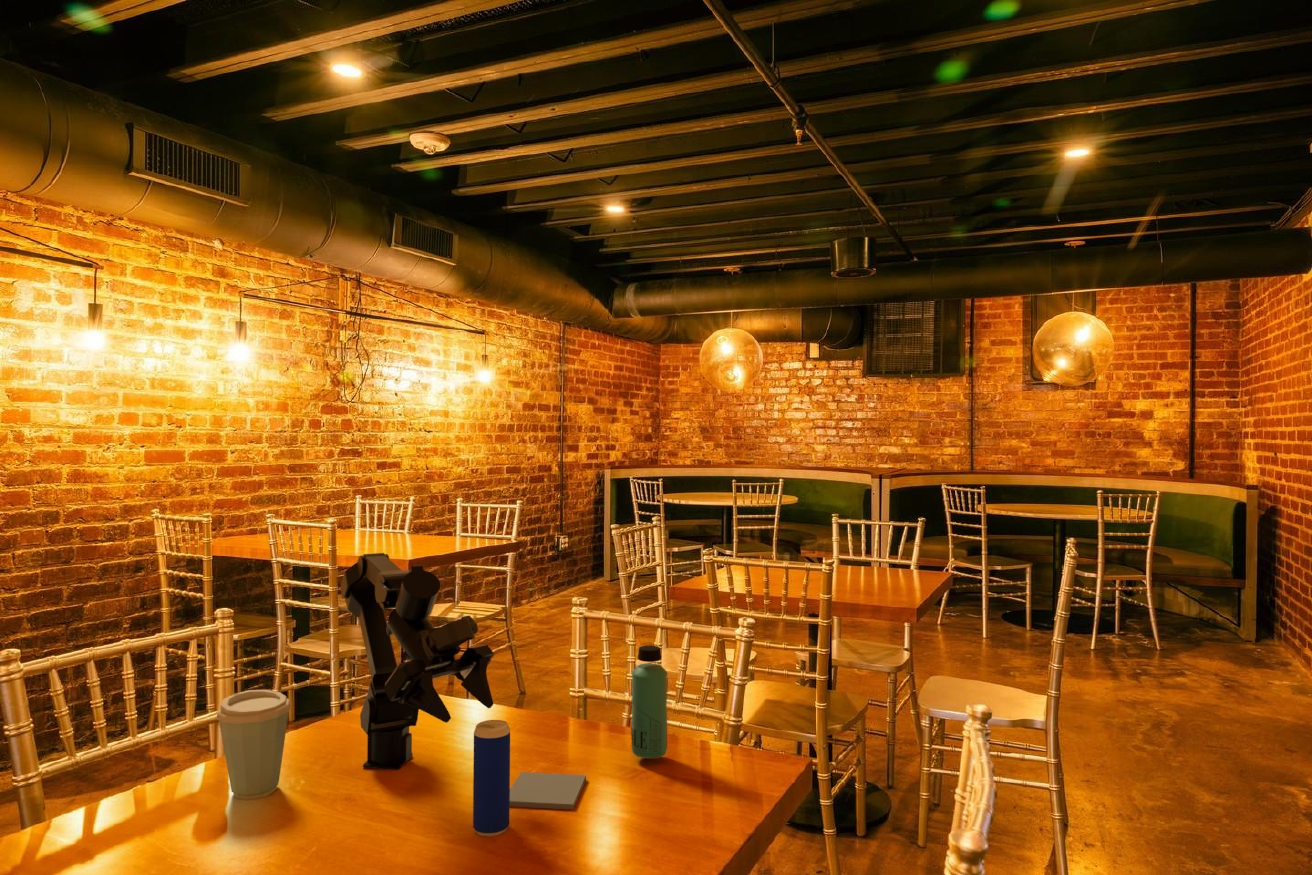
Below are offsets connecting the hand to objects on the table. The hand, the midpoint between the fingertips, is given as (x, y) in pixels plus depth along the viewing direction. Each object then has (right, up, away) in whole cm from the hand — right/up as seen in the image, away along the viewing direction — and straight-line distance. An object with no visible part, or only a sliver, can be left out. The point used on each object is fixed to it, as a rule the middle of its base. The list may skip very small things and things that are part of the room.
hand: (470, 713), depth 124 cm
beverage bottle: (+27, -15, +19) cm, 36 cm away
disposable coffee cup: (-36, -15, +5) cm, 39 cm away
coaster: (+11, -15, +6) cm, 19 cm away
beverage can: (+4, -15, -7) cm, 17 cm away
